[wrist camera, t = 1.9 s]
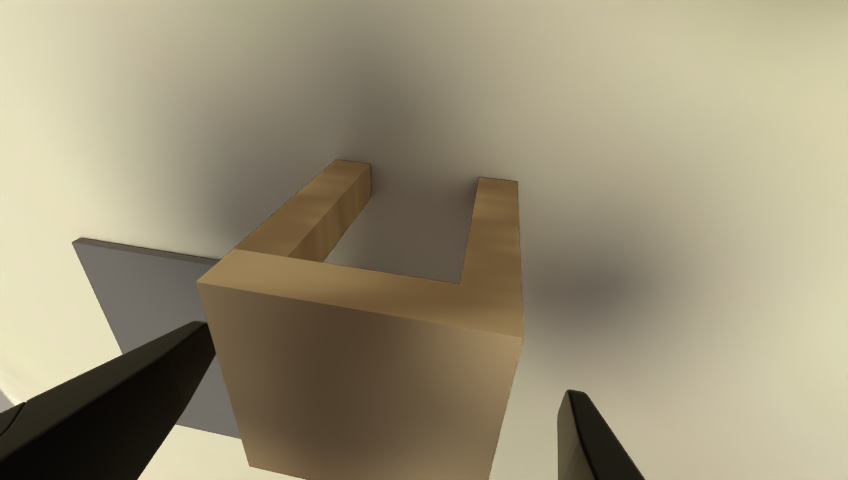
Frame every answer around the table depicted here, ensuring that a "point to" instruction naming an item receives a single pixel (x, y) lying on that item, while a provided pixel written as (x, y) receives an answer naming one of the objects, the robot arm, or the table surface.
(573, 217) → the table surface
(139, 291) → the mat
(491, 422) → the stool
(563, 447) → the robot arm
